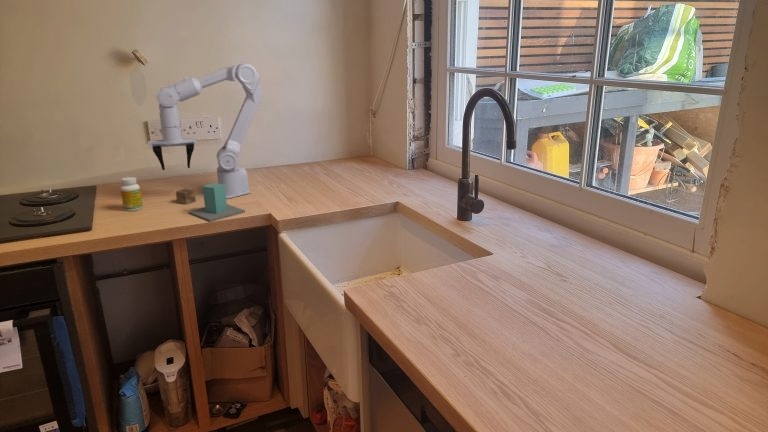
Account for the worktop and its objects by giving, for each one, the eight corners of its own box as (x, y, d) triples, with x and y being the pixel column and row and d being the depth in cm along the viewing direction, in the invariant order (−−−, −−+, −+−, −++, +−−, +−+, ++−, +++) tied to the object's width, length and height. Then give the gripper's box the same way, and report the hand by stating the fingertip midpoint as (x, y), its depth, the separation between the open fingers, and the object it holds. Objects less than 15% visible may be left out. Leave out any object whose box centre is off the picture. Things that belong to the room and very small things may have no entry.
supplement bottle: (135, 211, 159) (130, 181, 156) (120, 210, 160) (114, 180, 157) (146, 206, 164) (142, 176, 161) (131, 205, 165) (126, 175, 162)
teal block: (215, 207, 161) (213, 182, 159) (227, 209, 159) (224, 184, 157) (205, 211, 157) (202, 186, 155) (216, 213, 156) (214, 188, 153)
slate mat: (223, 204, 167) (223, 202, 166) (245, 212, 159) (245, 210, 159) (188, 213, 158) (188, 211, 158) (210, 221, 151) (209, 219, 150)
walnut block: (186, 200, 171) (185, 188, 170) (195, 201, 170) (194, 189, 168) (177, 203, 168) (175, 191, 167) (186, 205, 166) (185, 193, 165)
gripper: (194, 123, 171) (199, 164, 175) (146, 125, 166) (152, 167, 170) (195, 126, 164) (200, 168, 169) (145, 129, 159) (151, 172, 164)
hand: (176, 168), depth 169 cm, fingers open, 7 cm apart
